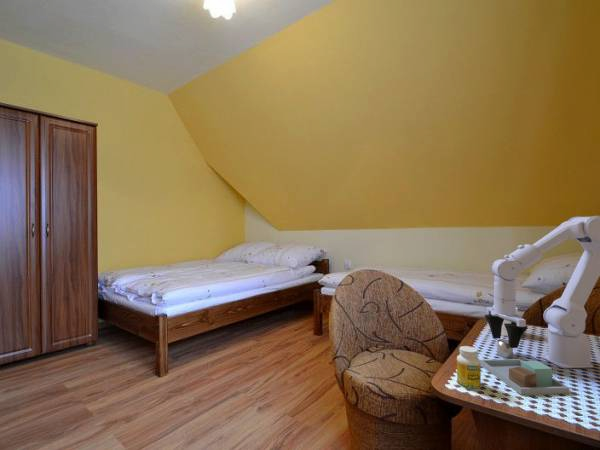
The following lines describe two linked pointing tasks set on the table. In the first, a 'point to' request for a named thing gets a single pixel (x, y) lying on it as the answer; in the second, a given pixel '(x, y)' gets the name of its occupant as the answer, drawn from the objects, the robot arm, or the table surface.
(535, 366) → the teal block
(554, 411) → the table surface
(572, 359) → the robot arm
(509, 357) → the cylinder
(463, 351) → the supplement bottle
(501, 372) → the tray
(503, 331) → the white cup
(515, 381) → the walnut cube
